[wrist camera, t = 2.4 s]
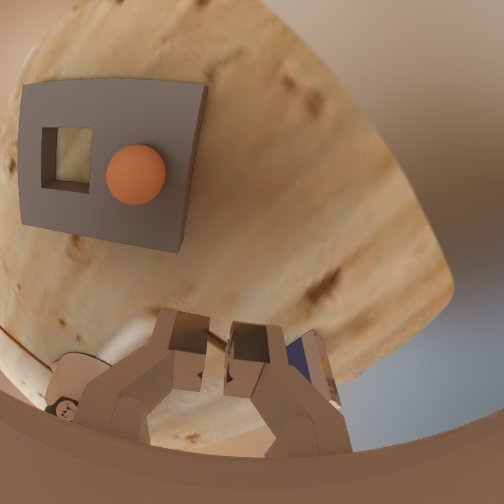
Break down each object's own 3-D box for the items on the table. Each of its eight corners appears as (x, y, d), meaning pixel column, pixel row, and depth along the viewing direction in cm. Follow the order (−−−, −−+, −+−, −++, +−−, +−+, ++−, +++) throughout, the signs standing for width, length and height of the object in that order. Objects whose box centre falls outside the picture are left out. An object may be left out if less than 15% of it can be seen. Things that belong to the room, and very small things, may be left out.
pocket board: (182, 239, 30) (177, 253, 28) (35, 214, 28) (21, 223, 25) (208, 87, 23) (204, 85, 20) (38, 84, 20) (23, 85, 18)
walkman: (281, 365, 41) (291, 434, 30) (269, 357, 40) (277, 429, 29) (324, 338, 38) (345, 408, 28) (312, 328, 37) (332, 402, 27)
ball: (168, 198, 25) (153, 218, 21) (118, 190, 24) (95, 209, 20) (175, 144, 23) (160, 153, 18) (122, 138, 22) (97, 146, 18)
